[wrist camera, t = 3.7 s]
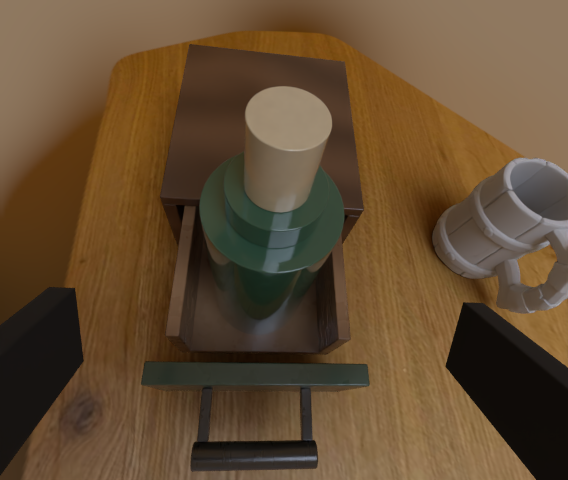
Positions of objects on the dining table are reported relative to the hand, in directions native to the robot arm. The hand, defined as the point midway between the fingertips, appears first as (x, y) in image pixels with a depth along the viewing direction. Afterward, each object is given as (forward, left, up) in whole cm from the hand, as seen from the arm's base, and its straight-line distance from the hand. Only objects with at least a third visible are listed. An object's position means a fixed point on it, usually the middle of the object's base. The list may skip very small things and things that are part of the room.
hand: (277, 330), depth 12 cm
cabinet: (-3, +18, -16) cm, 24 cm away
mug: (+19, +14, -16) cm, 28 cm away
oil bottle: (-1, +6, -14) cm, 15 cm away
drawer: (-1, +4, -15) cm, 16 cm away
